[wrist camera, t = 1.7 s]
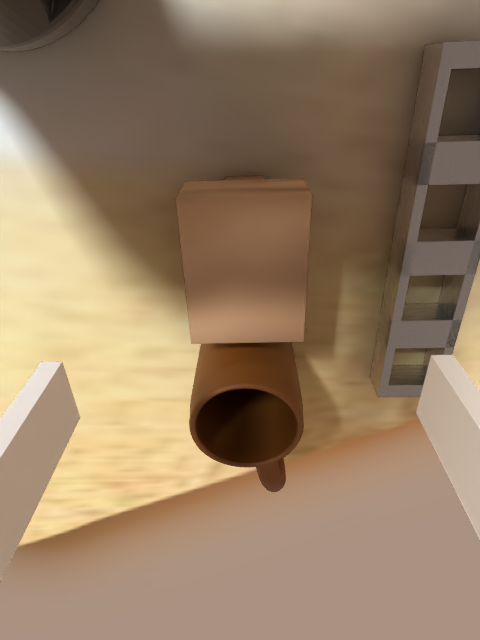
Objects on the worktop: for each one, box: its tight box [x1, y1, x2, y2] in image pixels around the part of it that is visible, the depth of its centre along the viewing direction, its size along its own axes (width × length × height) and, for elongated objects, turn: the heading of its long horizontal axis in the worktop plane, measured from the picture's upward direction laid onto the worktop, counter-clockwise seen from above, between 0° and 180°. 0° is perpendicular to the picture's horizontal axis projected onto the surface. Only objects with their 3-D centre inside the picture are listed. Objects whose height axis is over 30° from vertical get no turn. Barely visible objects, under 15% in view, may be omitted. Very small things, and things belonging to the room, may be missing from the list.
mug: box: [189, 342, 304, 492], centre depth 31 cm, size 12×8×9 cm, turn 18°
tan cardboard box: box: [175, 176, 312, 344], centre depth 26 cm, size 9×7×7 cm
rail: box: [370, 41, 480, 397], centre depth 28 cm, size 24×5×3 cm, turn 2°
